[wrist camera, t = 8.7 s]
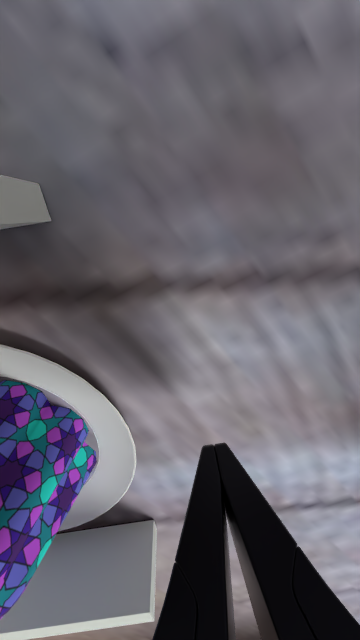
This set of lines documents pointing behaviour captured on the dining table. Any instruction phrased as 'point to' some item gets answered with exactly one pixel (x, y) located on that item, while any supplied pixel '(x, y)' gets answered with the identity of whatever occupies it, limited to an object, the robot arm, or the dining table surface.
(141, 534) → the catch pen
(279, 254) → the dining table surface
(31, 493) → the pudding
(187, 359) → the dining table surface
